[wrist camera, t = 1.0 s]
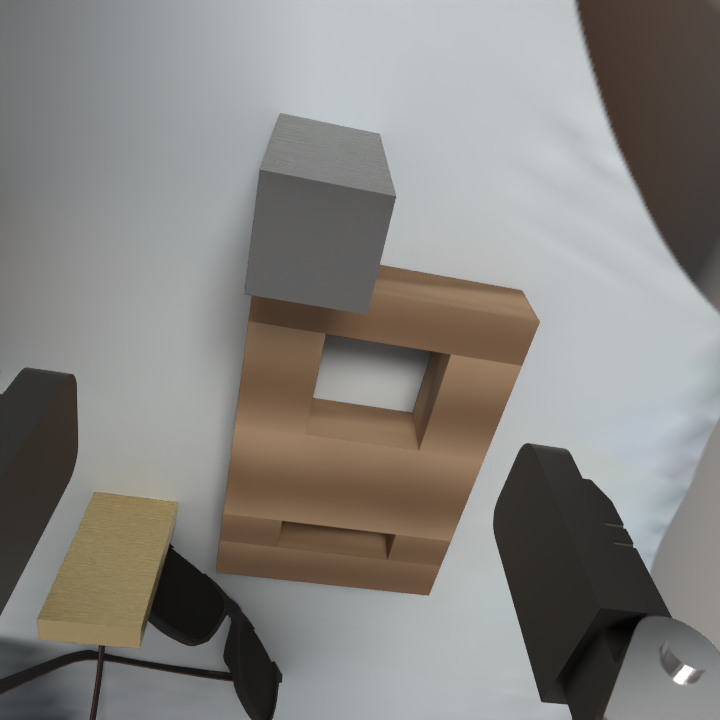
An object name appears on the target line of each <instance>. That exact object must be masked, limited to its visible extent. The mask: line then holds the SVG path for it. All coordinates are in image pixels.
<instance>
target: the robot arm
mask: <svg viewBox="0 0 720 720" xmlns="http://www.w3.org/2000/svg"><path fill="white" fill-rule="evenodd" d="M77 453H78V417H77V383H76V379H75V376H74V375H73V374H68V373H61V372H54V371H48V370H41V369H34V368H27V367H26V368H24V369H23V370H21V372H20V373H19V374H18V375H17V377H16V378H15V379H14V380H13V382H12V383H11V384H10V386H9V387H8V388H7V389H6V391H5V392H4V393H3V395H2V394H0V615H1V613H2V611H3V609H4V608H5V606H6V604H7V602H8V600H9V598H10V596H11V594H12V592H13V590H14V588H15V586H16V584H17V582H18V580H19V578H20V576H21V574H22V573H23V571H24V569H25V567H26V565H27V563H28V561H29V559H30V557H31V555H32V553H33V551H34V549H35V547H36V545H37V543H38V541H39V540H40V538H41V536H42V534H43V532H44V530H45V528H46V526H47V524H48V522H49V520H50V518H51V516H52V514H53V512H54V510H55V508H56V506H57V505H58V503H59V501H60V499H61V497H62V495H63V493H64V491H65V489H66V487H67V485H68V483H69V481H70V479H71V476H72V474H73V471H74V467H75V463H76V459H77ZM623 525H624V524H623V522H622V520H621V518H620V516H619V514H618V513H617V511H616V509H615V507H614V505H613V503H612V501H611V500H610V499H609V498H608V497H607V496H606V495H605V494H604V493H603V492H602V491H601V490H600V489H599V488H598V487H597V486H596V485H595V484H594V482H593V481H592V480H589V479H583V478H582V476H581V474H580V472H579V470H578V468H577V466H576V464H575V462H574V460H573V457H572V455H571V454H570V452H569V451H568V450H567V449H563V448H557V447H550V446H543V445H537V444H530V443H526V444H524V445H523V446H522V447H521V449H520V450H519V452H518V455H517V457H516V459H515V461H514V464H513V466H512V468H511V471H510V473H509V475H508V477H507V480H506V482H505V484H504V487H503V489H502V491H501V493H500V496H499V498H498V500H497V503H496V506H495V511H494V519H493V528H494V535H495V539H496V543H497V546H498V550H499V553H500V557H501V560H502V564H503V568H504V571H505V575H506V578H507V582H508V585H509V589H510V592H511V596H512V599H513V603H514V607H515V610H516V614H517V617H518V621H519V624H520V628H521V631H522V635H523V638H524V642H525V646H526V649H527V653H528V656H529V660H530V663H531V667H532V670H533V674H534V677H535V681H536V685H537V688H538V692H539V695H540V699H541V702H546V703H557V704H568V706H569V709H570V712H571V715H572V720H720V652H719V650H718V649H717V648H716V647H715V646H714V645H713V644H712V643H711V642H710V641H709V640H708V639H707V638H706V637H705V636H703V635H702V634H701V633H700V632H698V631H697V630H695V629H694V628H692V627H691V626H689V625H687V624H685V623H683V622H681V621H679V620H676V619H673V618H672V616H671V615H670V613H669V611H668V609H667V607H666V605H665V603H664V601H663V599H662V597H661V595H660V593H659V591H658V590H657V588H656V586H655V584H654V582H653V580H652V578H651V576H650V574H649V572H648V570H647V568H646V566H645V564H644V563H643V561H642V559H641V557H640V555H639V553H638V551H637V549H636V548H633V541H632V539H631V538H630V536H629V534H628V532H627V530H626V529H623Z"/></svg>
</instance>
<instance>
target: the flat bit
mask: <svg viewBox="0 0 720 720" xmlns="http://www.w3.org/2000/svg"><path fill="white" fill-rule="evenodd" d="M176 514H177V502H170V501H162V500H154V499H146V498H137V497H129V496H121V495H113V494H105V493H96V492H94V495H93V497H92V499H91V501H90V503H89V506H88V508H87V510H86V512H85V514H84V517H83V519H82V521H81V523H80V525H79V528H78V530H77V532H76V534H75V537H74V539H73V541H72V543H71V545H70V548H69V550H68V552H67V554H66V556H65V559H64V561H63V563H62V565H61V567H60V570H59V572H58V574H57V576H56V579H55V581H54V583H53V585H52V587H51V590H50V592H49V594H48V596H47V598H46V601H45V603H44V605H43V607H42V609H41V612H40V614H39V616H38V618H37V623H38V634H39V640H50V641H61V642H72V643H83V644H94V645H105V646H116V647H127V648H138V649H140V646H141V643H142V639H143V636H144V632H145V629H146V625H147V622H148V618H149V614H150V611H151V607H152V604H153V600H154V597H155V593H156V590H157V586H158V583H159V579H160V576H161V572H162V569H163V565H164V562H165V558H166V554H167V551H168V547H169V544H170V540H171V537H172V533H173V530H174V526H175V523H176Z"/></svg>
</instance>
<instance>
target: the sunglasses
mask: <svg viewBox="0 0 720 720" xmlns="http://www.w3.org/2000/svg"><path fill="white" fill-rule="evenodd" d="M172 548H174V547H173V546H172V545H171V544H169V547H168V551H167V554H166V558H165V562H164V565H163V569H162V572H161V576H160V579H159V583H158V586H157V590H156V593H155V597H154V600H153V604H152V607H151V611H150V614H149V618H148V621H149V622H150V623H151V624H152V625H154V626H155V627H156V628H157V629H158V630H160V631H161V632H162V633H164V634H165V635H167V636H169V637H170V638H172V639H174V640H176V641H178V642H180V643H182V644H185V645H188V646H196V645H199V644H202V643H205V642H207V641H209V640H210V639H211V637H212V636H213V635H214V634H215V633H216V632H217V630H218V628H219V627H220V625H221V623H222V622H223V620H224V619H225V617H226V616H227V615H229V617H231V626H230V630H229V634H228V637H227V641H226V645H225V649H224V656H223V658H224V662H225V663H226V665H227V666H228V668H229V670H230V672H231V673H228V672H219V671H210V670H202V669H195V668H187V667H180V666H172V665H166V664H159V663H153V662H146V661H140V660H135V659H130V658H124V657H119V656H114V655H109V654H105V653H104V651H105V645H99V652H96V651H92V650H86V651H79V652H74V653H71V654H67V655H63V656H60V657H58V658H55V659H53V660H50V661H47V662H45V663H42V664H39V665H37V666H34V667H32V668H29V669H26V670H24V671H21V672H19V673H16V674H13V675H11V676H8V677H5V678H3V679H0V695H1V694H3V693H5V692H7V691H9V690H12V689H14V688H16V687H18V686H20V685H23V684H25V683H27V682H29V681H31V680H34V679H36V678H38V677H40V676H42V675H45V674H47V673H49V672H51V671H53V670H56V669H58V668H60V667H63V666H66V665H68V664H71V663H74V662H79V661H85V660H98V665H97V675H96V682H95V689H94V695H93V702H92V708H91V714H90V720H96V714H97V707H98V700H99V693H100V686H101V679H102V671H103V663H104V661H108V662H116V663H122V664H128V665H133V666H139V667H145V668H150V669H156V670H161V671H167V672H173V673H179V674H185V675H191V676H197V677H203V678H210V679H217V680H225V681H232V682H234V687H235V690H236V693H237V695H238V697H239V699H240V701H241V703H242V705H243V707H244V709H245V711H246V713H247V714H248V716H249V717H250V718H251V719H252V720H272V718H273V715H274V712H275V708H276V703H277V696H278V687H279V683H281V682H282V674H281V672H280V670H279V668H278V667H277V665H276V663H275V661H274V662H271V660H270V658H269V656H268V654H267V652H266V650H265V648H264V647H263V645H262V643H261V641H260V640H259V638H258V636H257V635H256V633H255V631H254V630H253V629H255V628H254V627H253V625H252V624H251V622H250V621H249V620H248V618H247V617H246V616H245V615H244V614H243V613H242V612H241V609H240V607H239V606H238V604H236V603H235V602H234V601H232V600H231V599H230V598H229V597H228V596H227V595H226V594H225V593H224V592H223V590H222V589H221V588H220V587H219V586H218V585H217V584H216V583H215V582H214V581H213V580H212V579H211V578H210V577H208V576H207V575H206V574H205V573H204V574H203V573H201V572H200V571H199V570H198V569H197V568H195V567H194V566H193V565H192V564H191V563H189V562H188V561H187V560H186V559H184V558H183V557H182V556H181V555H179V554H178V553H177V552H175V551H174V550H173V549H172Z"/></svg>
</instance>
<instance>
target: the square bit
mask: <svg viewBox="0 0 720 720" xmlns="http://www.w3.org/2000/svg"><path fill="white" fill-rule="evenodd" d="M395 199H396V194H395V190H394V186H393V183H392V179H391V175H390V171H389V168H388V164H387V160H386V156H385V153H384V149H383V145H382V141H381V138H380V134H377V133H373V132H368V131H363V130H358V129H354V128H349V127H344V126H339V125H334V124H330V123H325V122H320V121H315V120H311V119H306V118H301V117H296V116H291V115H287V114H282V113H280V115H279V118H278V120H277V123H276V126H275V129H274V132H273V134H272V137H271V140H270V143H269V145H268V148H267V151H266V154H265V157H264V159H263V162H262V165H261V168H260V173H259V181H258V189H257V197H256V205H255V213H254V221H253V229H252V237H251V245H250V253H249V261H248V269H247V277H246V285H245V293H244V294H248V295H254V296H260V297H265V298H271V299H277V300H283V301H289V302H295V303H301V304H307V305H313V306H319V307H325V308H331V309H337V310H342V311H348V312H354V313H360V314H366V315H368V310H369V306H370V302H371V298H372V294H373V290H374V286H375V281H376V277H377V273H378V269H379V265H380V261H381V257H382V252H383V248H384V244H385V240H386V236H387V232H388V228H389V224H390V219H391V215H392V211H393V207H394V203H395Z"/></svg>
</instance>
